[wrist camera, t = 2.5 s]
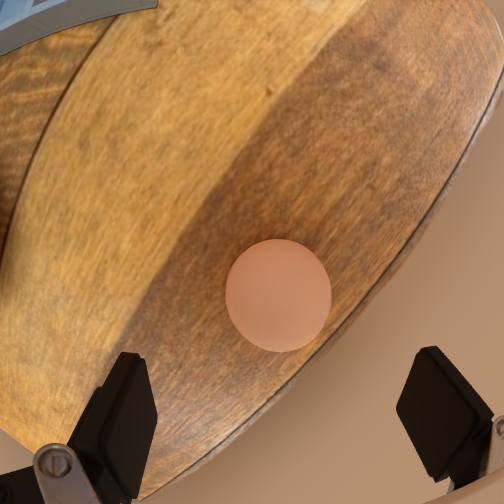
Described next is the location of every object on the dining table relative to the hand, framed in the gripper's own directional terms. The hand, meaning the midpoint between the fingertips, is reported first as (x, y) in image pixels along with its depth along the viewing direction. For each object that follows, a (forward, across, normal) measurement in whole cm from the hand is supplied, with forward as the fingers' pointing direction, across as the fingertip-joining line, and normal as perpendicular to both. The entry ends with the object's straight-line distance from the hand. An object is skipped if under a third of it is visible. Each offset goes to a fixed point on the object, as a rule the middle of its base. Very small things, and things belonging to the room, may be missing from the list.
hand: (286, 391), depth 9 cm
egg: (+12, -1, 0) cm, 12 cm away
